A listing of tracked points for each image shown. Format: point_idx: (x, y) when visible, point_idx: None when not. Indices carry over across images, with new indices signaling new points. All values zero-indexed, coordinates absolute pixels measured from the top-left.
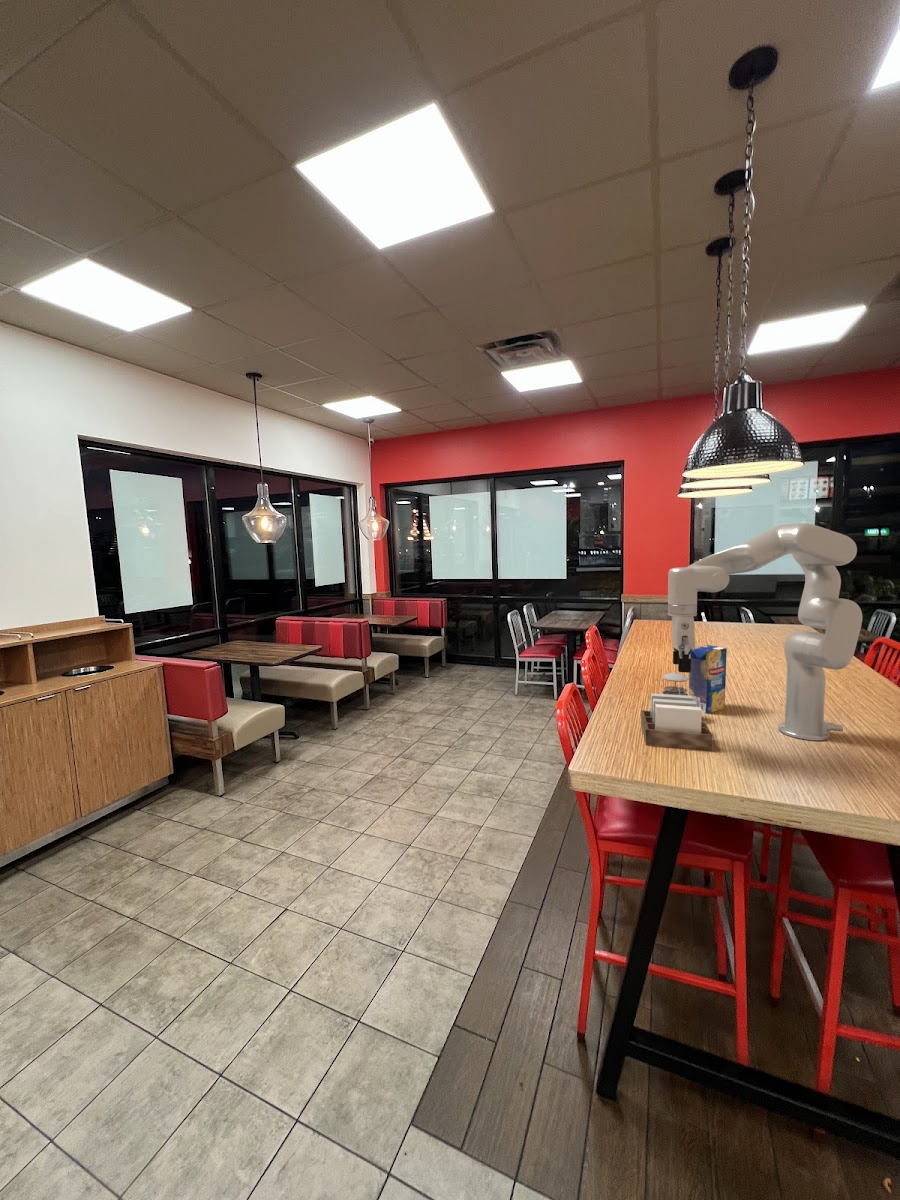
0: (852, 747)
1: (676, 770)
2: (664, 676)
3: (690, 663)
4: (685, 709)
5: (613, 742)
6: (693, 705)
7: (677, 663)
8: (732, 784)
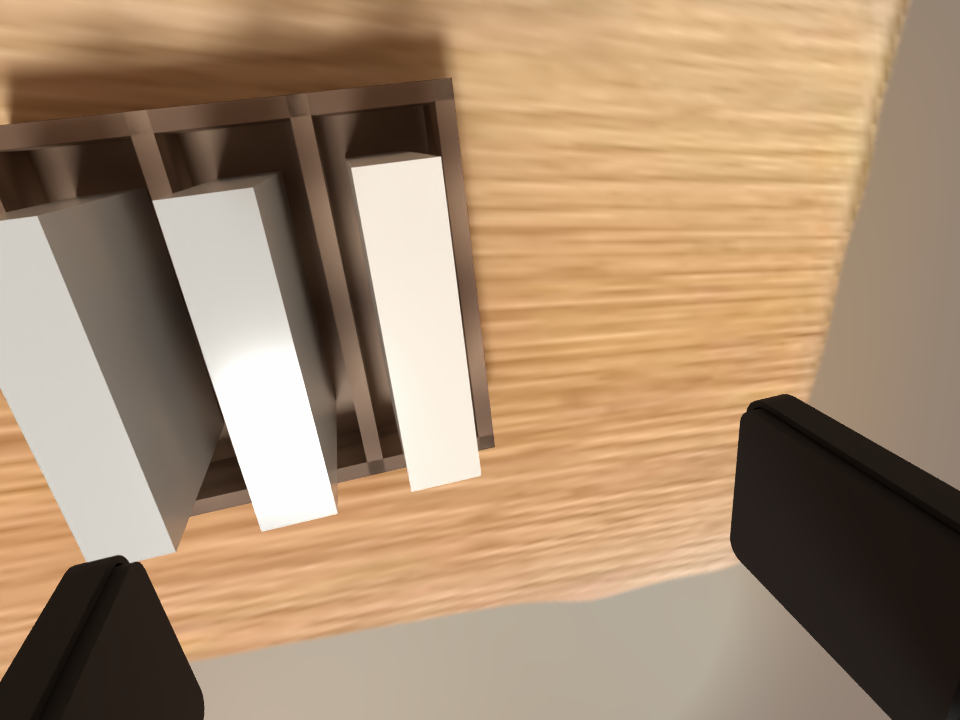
0: None
1: (713, 267)
2: None
3: (934, 485)
4: (455, 285)
5: (497, 526)
6: (263, 218)
7: (184, 667)
8: (801, 41)
